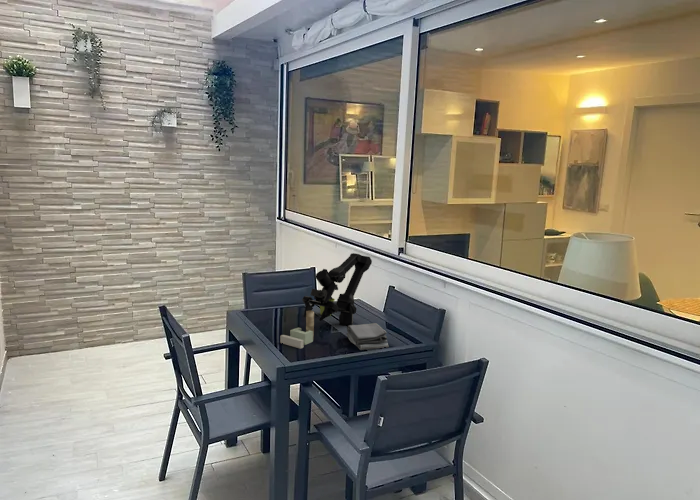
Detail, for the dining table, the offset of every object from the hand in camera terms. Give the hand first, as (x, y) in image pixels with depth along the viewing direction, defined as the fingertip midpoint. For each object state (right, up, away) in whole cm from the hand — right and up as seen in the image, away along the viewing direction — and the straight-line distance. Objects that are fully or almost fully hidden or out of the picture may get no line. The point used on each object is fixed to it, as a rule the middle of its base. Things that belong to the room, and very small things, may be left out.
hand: (312, 318), depth 237 cm
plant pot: (+5, -3, +41) cm, 41 cm away
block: (-5, -10, -5) cm, 12 cm away
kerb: (-8, -11, -10) cm, 17 cm away
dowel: (-1, -9, 0) cm, 9 cm away
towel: (+26, -11, -4) cm, 28 cm away
